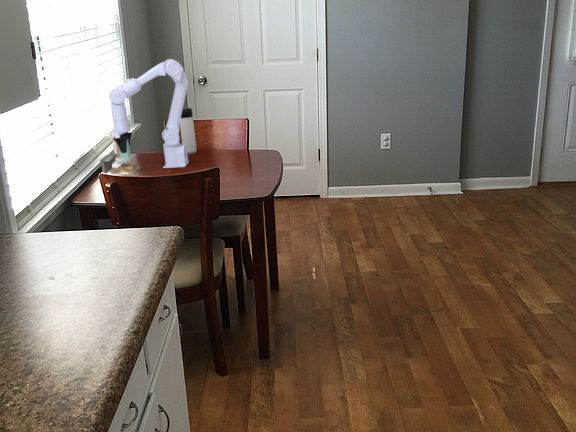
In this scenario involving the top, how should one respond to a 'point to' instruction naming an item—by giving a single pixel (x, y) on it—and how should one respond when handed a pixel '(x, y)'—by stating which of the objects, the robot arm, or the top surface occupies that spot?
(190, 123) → the travel mug
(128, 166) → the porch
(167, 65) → the robot arm
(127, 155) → the peg
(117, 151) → the bath foam
